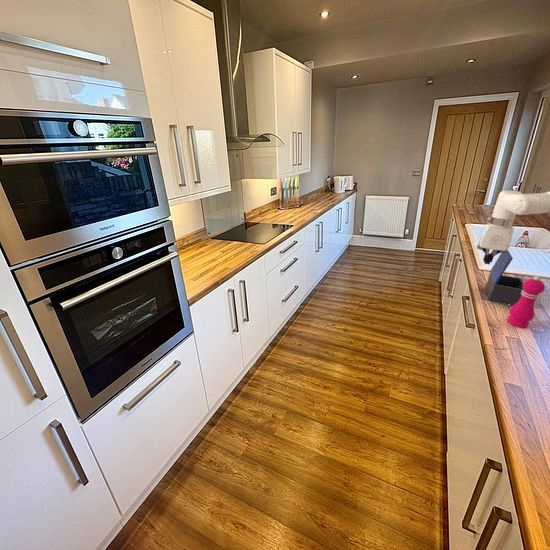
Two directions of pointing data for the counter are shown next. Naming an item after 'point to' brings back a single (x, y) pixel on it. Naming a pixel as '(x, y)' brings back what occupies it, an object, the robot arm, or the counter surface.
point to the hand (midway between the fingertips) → (486, 263)
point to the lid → (500, 266)
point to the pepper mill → (526, 303)
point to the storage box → (504, 289)
